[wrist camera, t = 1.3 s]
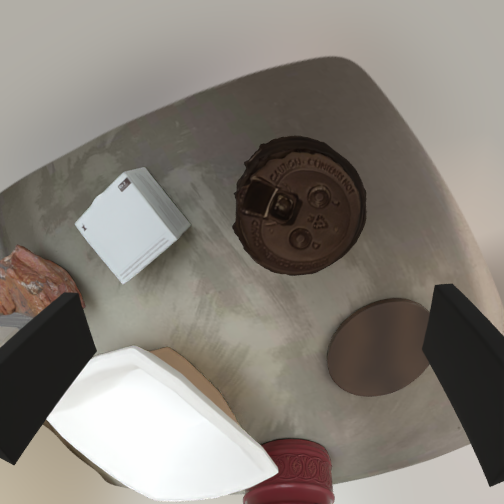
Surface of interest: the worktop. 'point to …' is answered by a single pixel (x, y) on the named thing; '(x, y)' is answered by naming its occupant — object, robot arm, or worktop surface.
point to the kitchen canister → (295, 475)
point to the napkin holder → (11, 325)
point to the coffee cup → (298, 206)
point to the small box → (132, 223)
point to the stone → (31, 283)
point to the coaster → (379, 348)
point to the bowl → (159, 427)
